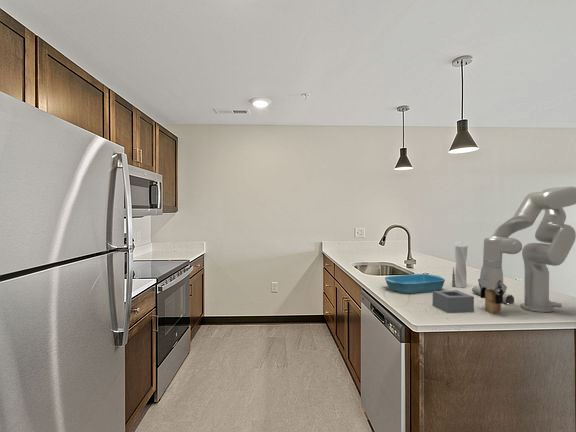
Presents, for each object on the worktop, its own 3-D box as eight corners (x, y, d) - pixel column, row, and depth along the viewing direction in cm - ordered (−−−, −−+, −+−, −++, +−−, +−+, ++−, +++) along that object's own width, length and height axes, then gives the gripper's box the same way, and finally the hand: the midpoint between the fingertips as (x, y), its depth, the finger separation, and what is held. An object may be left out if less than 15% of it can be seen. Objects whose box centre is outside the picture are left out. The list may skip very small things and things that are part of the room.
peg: (493, 310, 160) (493, 289, 160) (500, 312, 155) (500, 291, 155) (485, 310, 159) (485, 289, 159) (491, 313, 155) (491, 291, 155)
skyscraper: (454, 284, 216) (454, 241, 215) (468, 286, 211) (468, 242, 211) (451, 287, 209) (451, 242, 209) (466, 289, 204) (466, 243, 204)
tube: (468, 286, 193) (504, 297, 168) (476, 283, 194) (512, 293, 169) (471, 295, 193) (507, 306, 169) (479, 291, 194) (515, 303, 170)
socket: (456, 304, 170) (456, 290, 170) (473, 311, 157) (473, 296, 157) (432, 305, 169) (432, 291, 169) (447, 312, 156) (447, 297, 156)
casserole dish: (400, 296, 187) (400, 283, 187) (377, 287, 209) (377, 276, 209) (453, 291, 199) (453, 279, 199) (426, 283, 220) (426, 272, 220)
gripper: (472, 261, 165) (471, 296, 165) (498, 267, 148) (497, 305, 148) (486, 261, 166) (485, 296, 166) (514, 267, 149) (512, 305, 149)
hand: (491, 300), depth 157 cm, fingers open, 9 cm apart
